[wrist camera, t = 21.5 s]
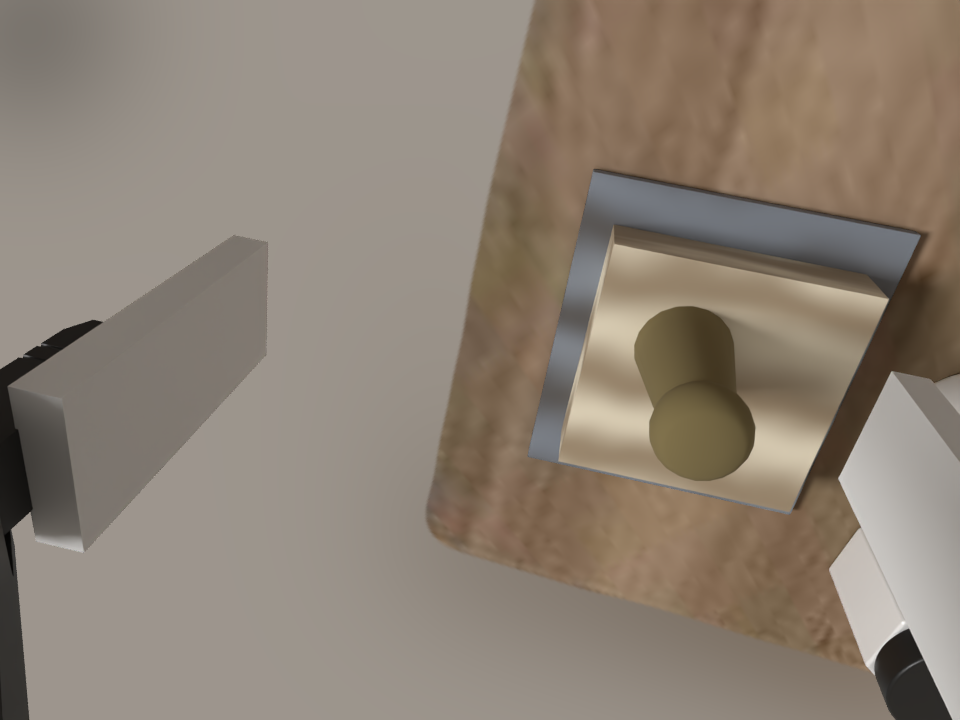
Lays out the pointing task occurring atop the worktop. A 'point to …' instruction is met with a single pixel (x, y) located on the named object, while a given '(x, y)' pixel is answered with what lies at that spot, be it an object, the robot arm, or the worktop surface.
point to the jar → (885, 635)
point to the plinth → (712, 228)
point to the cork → (694, 394)
